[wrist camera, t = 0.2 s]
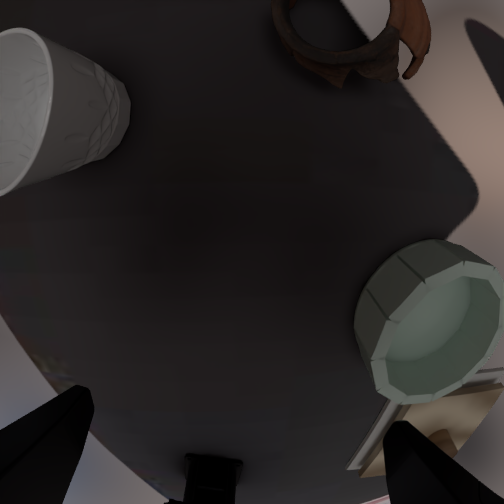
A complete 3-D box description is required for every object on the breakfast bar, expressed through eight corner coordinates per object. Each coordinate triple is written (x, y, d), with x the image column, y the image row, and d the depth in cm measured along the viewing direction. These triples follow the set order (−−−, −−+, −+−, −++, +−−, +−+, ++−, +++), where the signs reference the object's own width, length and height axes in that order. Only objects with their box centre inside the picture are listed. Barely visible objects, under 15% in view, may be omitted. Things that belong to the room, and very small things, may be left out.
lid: (443, 452, 30) (455, 478, 25) (356, 465, 30) (364, 498, 25) (496, 377, 25) (517, 404, 21) (407, 386, 25) (426, 424, 20)
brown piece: (402, 121, 19) (390, 112, 12) (290, 69, 21) (229, 47, 15) (456, -7, 12) (460, -65, 6) (341, -47, 15) (299, -102, 8)
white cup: (154, 70, 17) (78, 23, 8) (124, 182, 20) (33, 216, 10) (63, 61, 17) (-30, 35, 7) (39, 160, 19) (-58, 182, 10)
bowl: (444, 365, 25) (466, 397, 20) (335, 364, 24) (348, 406, 20) (491, 251, 21) (527, 273, 16) (378, 226, 21) (409, 250, 16)
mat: (443, 452, 31) (444, 455, 30) (345, 466, 30) (346, 469, 30) (502, 367, 26) (505, 370, 25) (400, 374, 25) (402, 378, 25)
